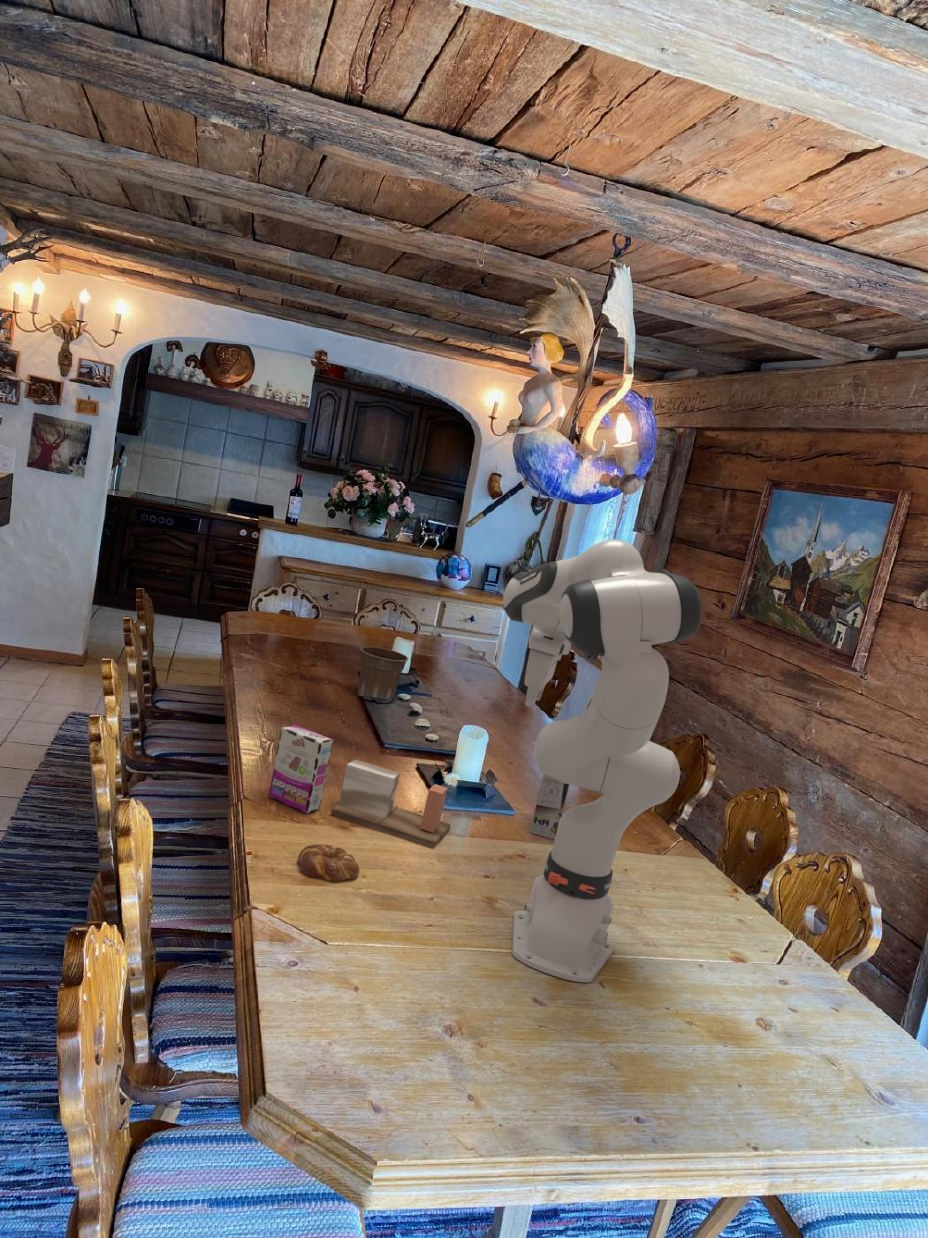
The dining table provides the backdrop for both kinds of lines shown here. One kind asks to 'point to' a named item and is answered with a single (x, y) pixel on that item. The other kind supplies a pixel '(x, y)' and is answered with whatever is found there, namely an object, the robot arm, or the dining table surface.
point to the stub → (433, 808)
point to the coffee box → (549, 807)
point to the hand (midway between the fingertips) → (532, 702)
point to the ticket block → (381, 805)
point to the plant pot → (380, 672)
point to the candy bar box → (300, 768)
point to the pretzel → (328, 863)
